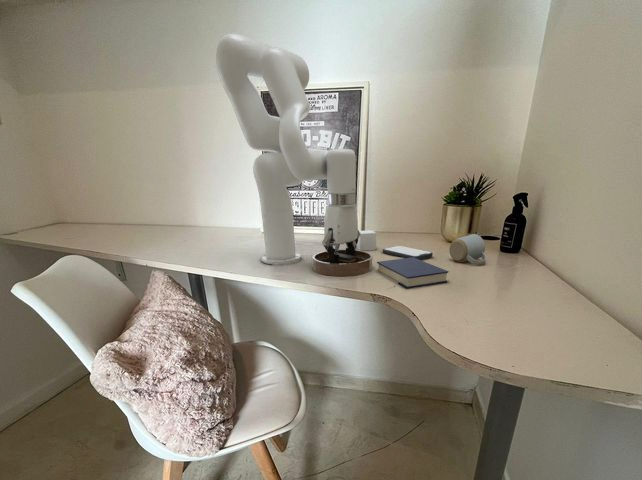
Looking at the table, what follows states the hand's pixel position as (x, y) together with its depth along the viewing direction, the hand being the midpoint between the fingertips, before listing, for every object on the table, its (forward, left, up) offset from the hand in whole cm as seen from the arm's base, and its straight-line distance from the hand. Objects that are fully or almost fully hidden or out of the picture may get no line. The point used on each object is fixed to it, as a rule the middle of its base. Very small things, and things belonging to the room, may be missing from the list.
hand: (342, 264), depth 97 cm
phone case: (-7, +26, -2) cm, 27 cm away
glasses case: (0, 0, -1) cm, 1 cm away
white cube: (-22, +18, -2) cm, 29 cm away
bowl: (0, 0, -2) cm, 2 cm away
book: (+14, +14, -2) cm, 20 cm away
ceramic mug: (+8, +39, -2) cm, 40 cm away
